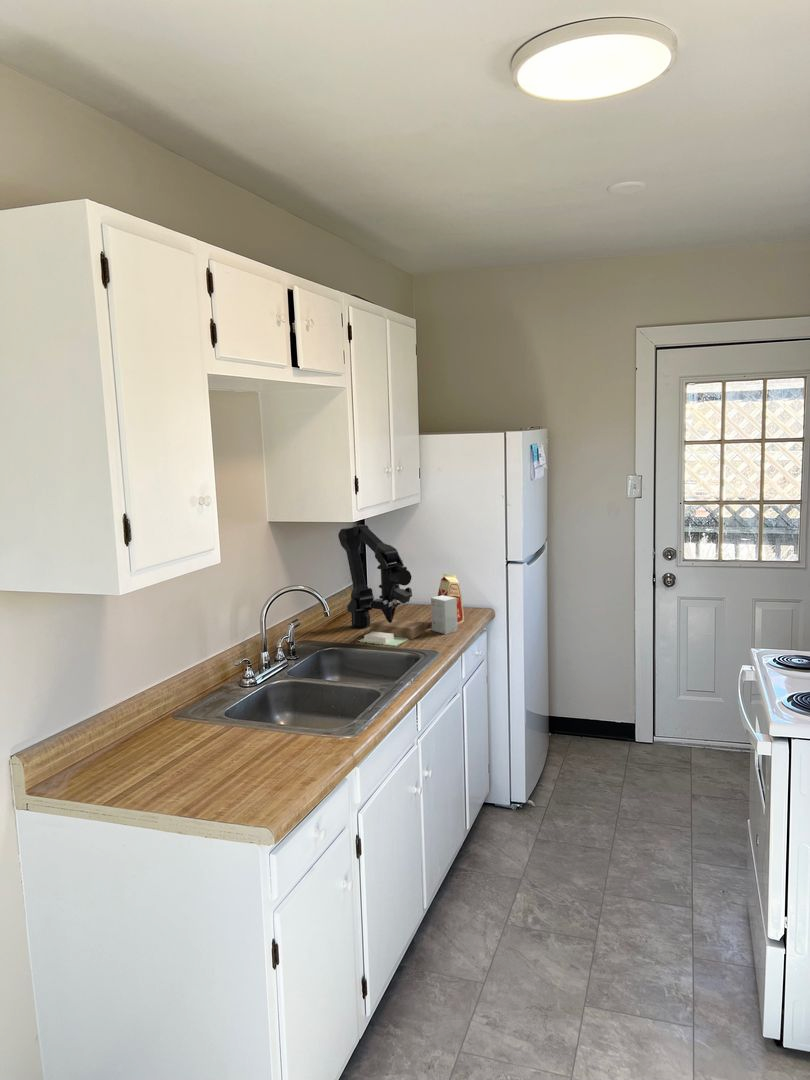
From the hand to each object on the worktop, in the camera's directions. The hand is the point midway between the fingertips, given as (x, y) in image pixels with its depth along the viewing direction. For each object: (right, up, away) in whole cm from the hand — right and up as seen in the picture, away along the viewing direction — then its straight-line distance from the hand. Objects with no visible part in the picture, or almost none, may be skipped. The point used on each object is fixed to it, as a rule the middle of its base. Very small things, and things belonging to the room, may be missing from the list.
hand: (390, 622), depth 302 cm
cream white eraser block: (-4, -4, -6) cm, 8 cm away
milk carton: (+23, -2, +18) cm, 30 cm away
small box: (+21, -4, +5) cm, 22 cm away
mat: (-2, -6, -6) cm, 9 cm away
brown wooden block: (+3, -5, +3) cm, 6 cm away
